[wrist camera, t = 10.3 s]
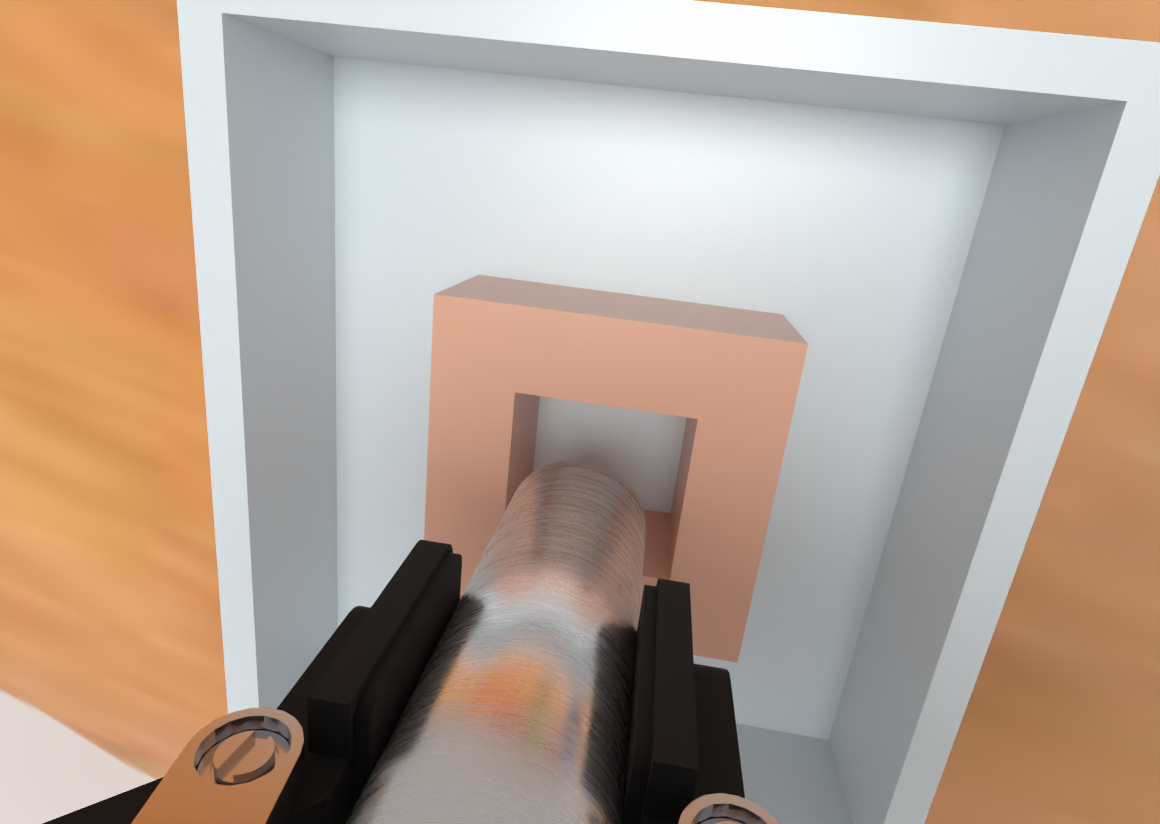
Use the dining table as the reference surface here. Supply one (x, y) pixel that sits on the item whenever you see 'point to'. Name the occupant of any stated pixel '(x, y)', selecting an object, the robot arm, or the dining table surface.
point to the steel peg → (528, 670)
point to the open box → (662, 326)
